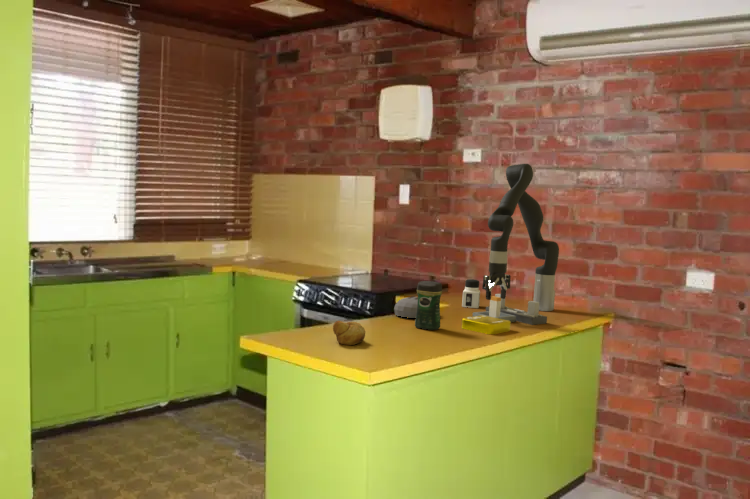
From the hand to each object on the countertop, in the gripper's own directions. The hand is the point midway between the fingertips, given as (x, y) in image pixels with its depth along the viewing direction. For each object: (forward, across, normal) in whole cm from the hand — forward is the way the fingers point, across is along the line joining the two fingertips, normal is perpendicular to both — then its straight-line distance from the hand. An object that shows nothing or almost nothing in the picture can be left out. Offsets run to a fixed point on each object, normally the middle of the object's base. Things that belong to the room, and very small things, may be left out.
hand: (495, 299), depth 297 cm
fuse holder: (+9, -13, 0) cm, 16 cm away
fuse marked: (+8, 0, 0) cm, 8 cm away
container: (+9, -14, -30) cm, 34 cm away
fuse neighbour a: (+9, -13, -10) cm, 19 cm away
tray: (+9, 0, 0) cm, 9 cm away
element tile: (+10, +18, +14) cm, 25 cm away
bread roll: (+9, +82, +14) cm, 84 cm away
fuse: (+9, -13, +10) cm, 19 cm away
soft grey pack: (+9, +29, -20) cm, 36 cm away
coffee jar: (+9, +40, +4) cm, 41 cm away
